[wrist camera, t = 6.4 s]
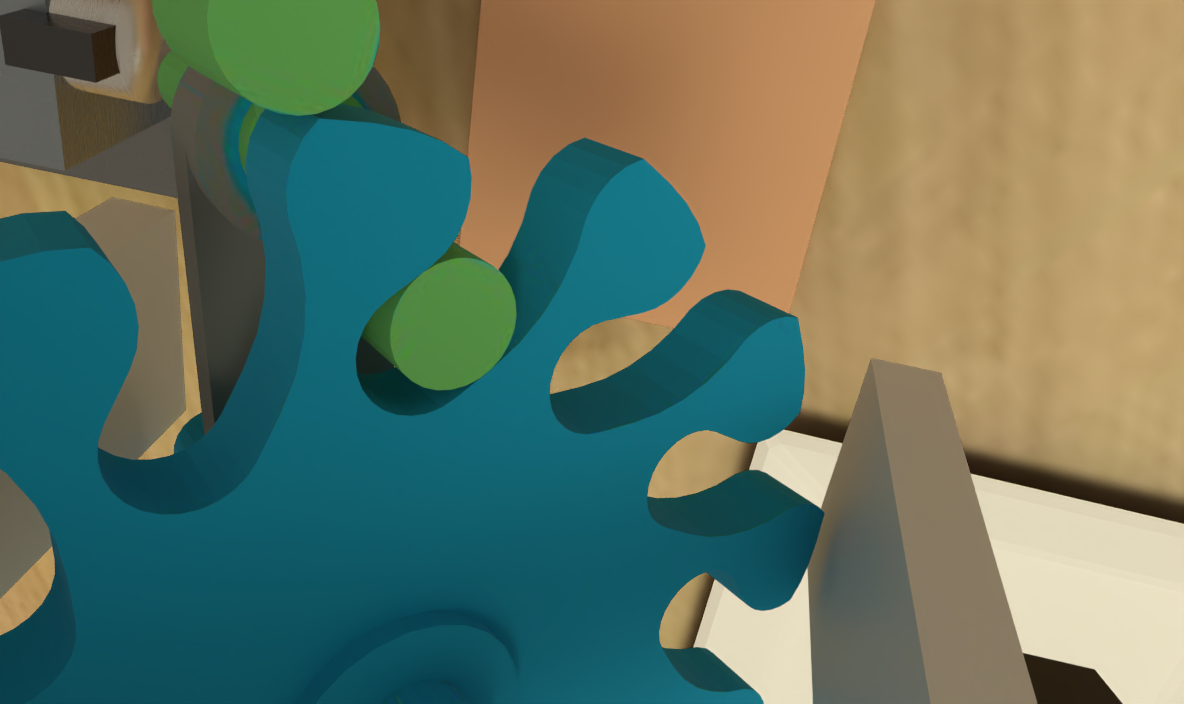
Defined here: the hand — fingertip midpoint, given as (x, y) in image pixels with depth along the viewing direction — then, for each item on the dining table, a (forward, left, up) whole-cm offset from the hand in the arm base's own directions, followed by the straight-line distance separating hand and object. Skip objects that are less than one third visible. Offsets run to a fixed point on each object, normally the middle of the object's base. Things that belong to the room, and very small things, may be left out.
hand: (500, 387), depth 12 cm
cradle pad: (0, 0, -18) cm, 18 cm away
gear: (0, +2, -1) cm, 3 cm away
